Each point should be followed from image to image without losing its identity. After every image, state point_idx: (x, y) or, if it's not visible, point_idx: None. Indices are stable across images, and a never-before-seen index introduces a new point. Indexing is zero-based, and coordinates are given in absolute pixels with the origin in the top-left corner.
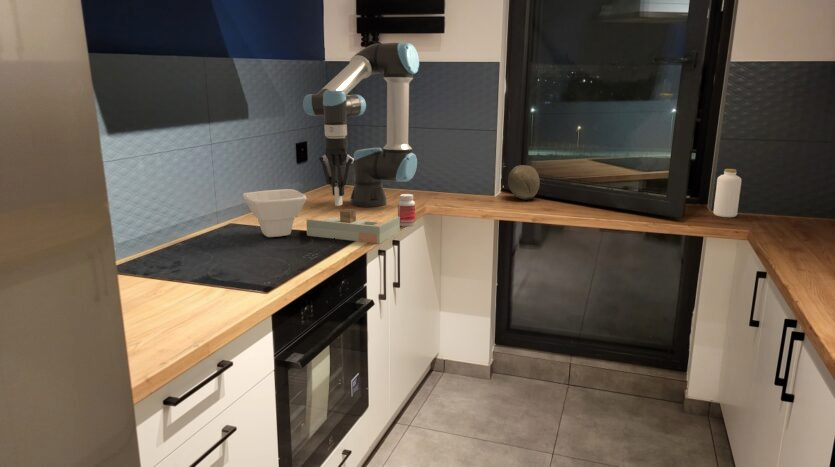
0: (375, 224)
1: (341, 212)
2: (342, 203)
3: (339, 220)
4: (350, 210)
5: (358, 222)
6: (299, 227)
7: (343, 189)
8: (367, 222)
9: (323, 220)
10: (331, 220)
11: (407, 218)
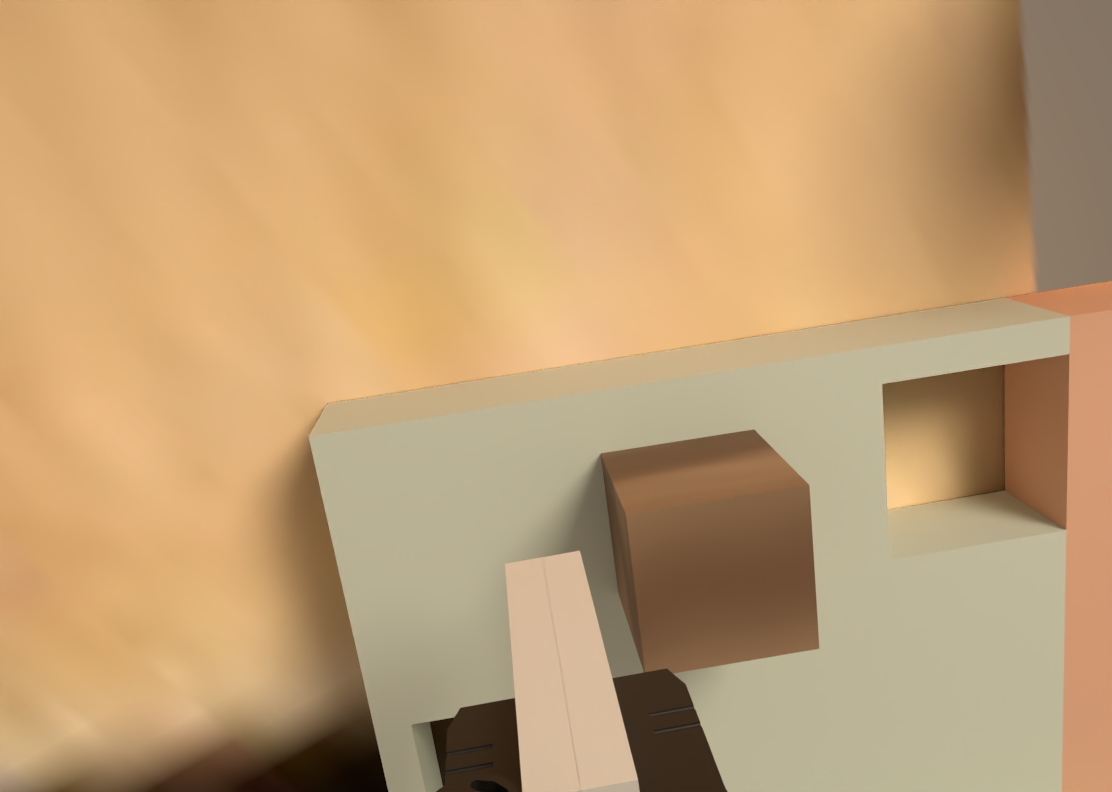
0: (1078, 461)
1: (668, 663)
2: (580, 556)
3: (547, 522)
4: (768, 570)
5: (832, 483)
6: (79, 670)
7: (712, 775)
8: (905, 377)
9: (365, 630)
10: (457, 578)
11: None
